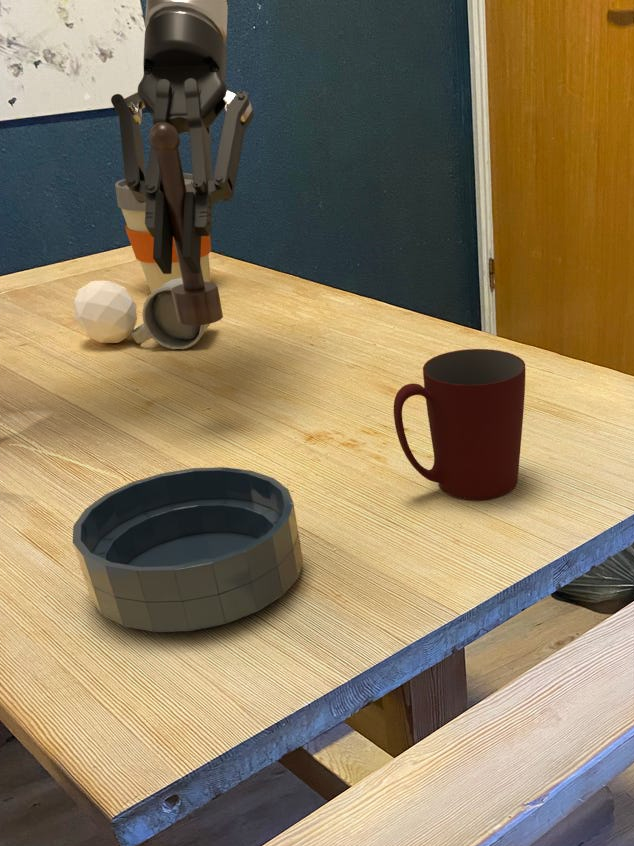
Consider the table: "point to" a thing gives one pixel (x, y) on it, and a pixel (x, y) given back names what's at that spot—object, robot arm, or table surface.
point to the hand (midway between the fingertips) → (176, 265)
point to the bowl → (189, 548)
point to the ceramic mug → (166, 321)
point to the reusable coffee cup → (145, 242)
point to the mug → (470, 421)
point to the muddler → (194, 295)
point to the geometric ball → (105, 311)
